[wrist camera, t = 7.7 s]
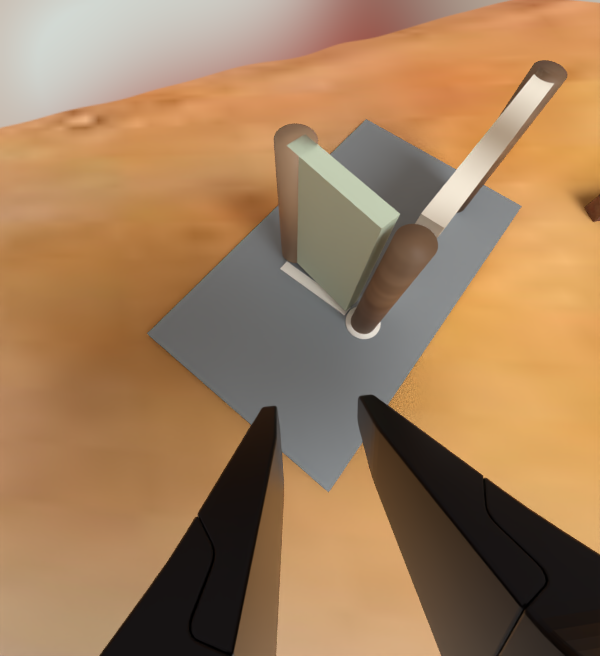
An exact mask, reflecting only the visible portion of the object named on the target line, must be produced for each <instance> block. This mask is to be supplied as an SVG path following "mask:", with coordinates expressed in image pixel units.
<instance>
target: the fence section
mask: <svg viewBox="0 0 600 656" xmlns="http://www.w3.org/2000/svg"><path fill="white" fill-rule="evenodd" d="M566 78H567V72H566V70H565V69H564V68H563V67H562V66H561V65H559V64H557V63H555V62H552V61H546V60H543V61H538V62H536V63H534V65H533V66H532V68H531V69H530V71H529V72H528V74H527V75H526V77H525V78H524V80H523V81H522V83H521V84H520V86H519V87H518V89H517V90H516V92H515V93H514V95H513V96H512V98H511V99H510V101H509V102H508V104H507V105H506V107H505V108H504V110H503V112H502V113H501V115H500V116H499V118H498V119H497V120H496V122H495V123H494V124H493V125H492V127H491V128H490V129H489V130H488V131H487V133H486V134H485V135H484V136H483V138H482V139H481V140H480V141H479V143H478V144H477V145H476V146H475V148H474V149H473V150H472V151H471V153H470V154H469V155H468V156H467V157H466V159H465V160H464V161H463V162H462V164H461V165H460V166H459V167H458V169H457V170H456V171H455V172H454V174H453V175H452V176H451V177H450V178H449V180H448V181H447V182H446V183H445V185H444V186H443V187H442V188H441V190H440V191H439V192H438V193H437V195H436V196H435V197H434V198H433V199H432V201H431V202H430V203H429V204H428V206H427V207H426V208H425V209H424V211H423V212H422V213H421V215H420V216H419V218H418V220H417V221H416V223H415V224H407V225H404V226H402V227H400V228H399V229H398V230H397V231H396V232H395V234H394V236H393V238H392V240H391V242H390V244H389V246H388V248H387V250H386V252H385V254H384V255H383V257H382V259H381V261H380V263H379V265H378V267H377V269H376V271H375V273H374V275H373V277H372V279H371V280H370V282H369V284H368V286H367V288H366V290H365V292H364V294H363V296H362V298H361V300H360V302H359V304H358V305H357V307H356V309H355V311H354V313H353V315H352V317H351V326H352V328H353V329H354V330H355V331H356V332H358V333H360V334H368V333H370V332H372V331H373V330H374V329H375V328H376V326H377V325H378V324H379V323H380V321H381V320H382V319H383V318H384V317H385V315H386V314H387V313H388V312H389V310H390V309H391V308H392V307H393V306H394V304H395V303H396V302H397V301H398V299H399V298H400V297H401V296H402V295H403V293H404V292H405V291H406V290H407V288H408V287H409V286H410V285H411V284H412V282H413V281H414V280H415V279H416V277H417V276H418V275H419V274H420V273H421V271H422V270H423V269H424V268H425V266H426V265H427V264H428V263H429V261H430V260H431V259H432V258H433V257H434V255H435V254H436V252H437V250H438V241H437V238H438V236H439V235H440V234H441V232H442V231H443V230H444V229H445V227H446V226H447V225H448V223H449V222H450V221H451V219H452V218H453V217H454V215H455V214H456V213H459V212H462V211H463V210H464V209H465V208H466V207H467V205H468V204H469V203H470V201H471V200H472V199H473V198H474V196H475V195H476V194H477V192H478V191H479V190H480V189H481V187H482V186H483V185H484V184H485V182H486V181H487V180H488V178H489V177H490V176H491V175H492V173H493V172H494V171H495V169H496V168H497V167H498V166H499V164H500V163H501V162H502V160H503V159H504V158H505V157H506V155H507V154H508V153H509V152H510V150H511V149H512V148H513V146H514V145H515V144H516V143H517V141H518V140H519V139H520V137H521V136H522V135H523V134H524V132H525V131H526V130H527V128H528V127H529V126H530V125H531V123H532V122H533V121H534V120H535V118H536V117H537V116H538V114H539V113H540V112H541V111H542V109H543V108H544V107H545V105H546V104H547V103H548V102H549V100H550V99H551V98H552V97H553V95H554V94H555V93H556V91H557V90H558V89H559V88H560V86H561V85H562V84H563V82H564V81H565V80H566Z"/></svg>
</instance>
